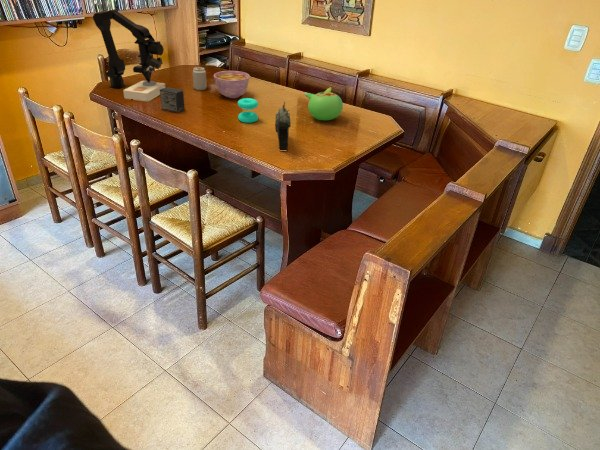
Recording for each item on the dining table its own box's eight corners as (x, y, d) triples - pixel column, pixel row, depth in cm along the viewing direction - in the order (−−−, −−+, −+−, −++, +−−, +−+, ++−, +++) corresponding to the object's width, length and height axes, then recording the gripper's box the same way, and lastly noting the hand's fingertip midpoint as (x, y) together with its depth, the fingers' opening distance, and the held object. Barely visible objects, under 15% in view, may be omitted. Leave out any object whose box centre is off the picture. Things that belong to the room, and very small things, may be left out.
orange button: (134, 96, 244) (133, 89, 242) (139, 93, 248) (138, 87, 246) (142, 97, 243) (141, 90, 241) (147, 94, 247) (146, 88, 245)
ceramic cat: (290, 153, 195) (291, 108, 184) (275, 153, 194) (276, 108, 183) (287, 135, 211) (289, 93, 200) (273, 135, 211) (274, 93, 200)
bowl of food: (208, 97, 251) (206, 76, 245) (226, 88, 267) (225, 68, 260) (239, 103, 245) (238, 82, 239) (255, 94, 261) (255, 73, 255)
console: (124, 98, 243) (123, 90, 240) (143, 88, 259) (142, 80, 257) (148, 101, 241) (146, 93, 238) (165, 91, 257) (164, 83, 254)
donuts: (252, 96, 226) (261, 102, 219) (252, 115, 231) (261, 121, 225) (234, 98, 221) (243, 105, 214) (235, 118, 227) (243, 124, 220)
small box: (185, 109, 233) (183, 89, 228) (177, 113, 228) (175, 93, 223) (169, 106, 237) (167, 86, 231) (161, 109, 232) (158, 89, 226)
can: (208, 87, 267) (207, 66, 260) (204, 91, 261) (203, 70, 254) (196, 86, 267) (194, 65, 261) (192, 90, 261) (190, 69, 254)
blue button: (143, 88, 251) (142, 82, 249) (148, 86, 255) (147, 80, 253) (151, 89, 250) (150, 83, 248) (155, 87, 254) (155, 81, 252)
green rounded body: (316, 126, 223) (318, 97, 215) (301, 115, 235) (302, 87, 227) (347, 122, 230) (350, 94, 222) (330, 111, 242) (332, 84, 234)
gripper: (149, 58, 233) (153, 88, 242) (166, 50, 248) (169, 79, 257) (130, 56, 235) (134, 85, 244) (148, 48, 250) (152, 77, 259)
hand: (148, 81), depth 251 cm, fingers closed, pressing on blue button
